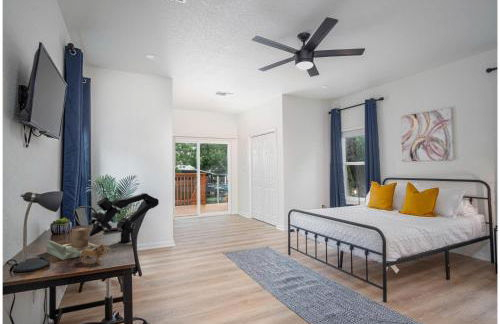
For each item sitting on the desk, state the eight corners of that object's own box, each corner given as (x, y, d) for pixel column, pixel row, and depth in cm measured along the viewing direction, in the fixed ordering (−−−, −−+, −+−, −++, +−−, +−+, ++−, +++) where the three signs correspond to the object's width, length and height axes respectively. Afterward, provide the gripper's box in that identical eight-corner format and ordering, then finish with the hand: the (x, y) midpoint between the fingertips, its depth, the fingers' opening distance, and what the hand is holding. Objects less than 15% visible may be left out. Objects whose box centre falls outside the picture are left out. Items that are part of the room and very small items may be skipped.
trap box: (84, 245, 183) (84, 234, 183) (101, 251, 169) (102, 240, 170) (46, 252, 167) (46, 240, 167) (62, 259, 153) (63, 247, 153)
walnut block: (82, 244, 175) (82, 227, 175) (87, 246, 171) (88, 229, 171) (71, 246, 170) (72, 229, 170) (76, 248, 166) (77, 230, 166)
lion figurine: (108, 259, 154) (108, 242, 155) (106, 262, 149) (106, 245, 149) (77, 261, 150) (77, 244, 151) (74, 265, 145) (74, 246, 145)
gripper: (92, 205, 185) (73, 225, 176) (107, 208, 174) (87, 229, 165) (104, 216, 191) (86, 236, 182) (119, 220, 180) (101, 241, 171)
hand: (89, 235), depth 175 cm, fingers closed
